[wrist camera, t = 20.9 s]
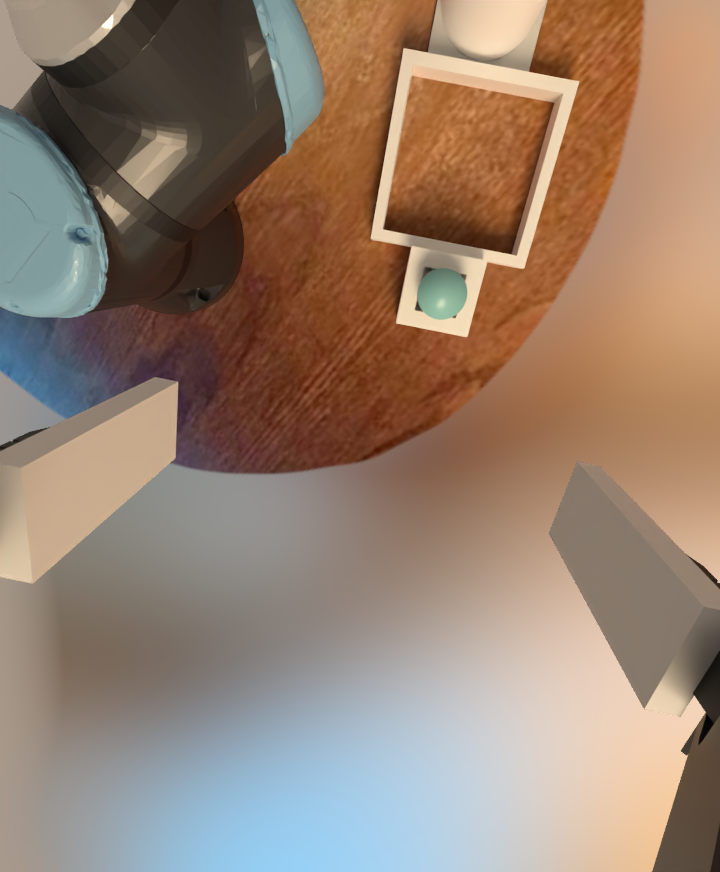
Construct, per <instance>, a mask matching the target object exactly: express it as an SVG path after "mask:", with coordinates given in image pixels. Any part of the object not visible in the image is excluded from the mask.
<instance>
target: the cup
mask: <svg viewBox="0 0 720 872" xmlns="http://www.w3.org/2000/svg"><path fill="white" fill-rule="evenodd" d="M546 1H547V0H441V13H442V20H443V25H444V28H445V31H446V33H447V35H448V37H449V39H450V41H451V42H452V44H453V45H454V46H455V47H456V48H457V49H458V50H459V51H460V52H461V53H463V54H464V55H466V56H468V57H470V58H473V59H476V60H493V59H497V58H500V57H502V56H504V55H506V54H508V53H509V52H511V51H512V50H514V49H515V48H516V47H517V46H518V45H519V44H520V43H521V42H522V41H523V40H524V39H525V37H526V36H527V34H528V33H529V31H530V30H531V28H532V26H533V24H534V23H535V21H536V19H537V17H538V16H539V14H540V12H541V10H542V9H543V7H544V5H545V3H546Z"/></svg>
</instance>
